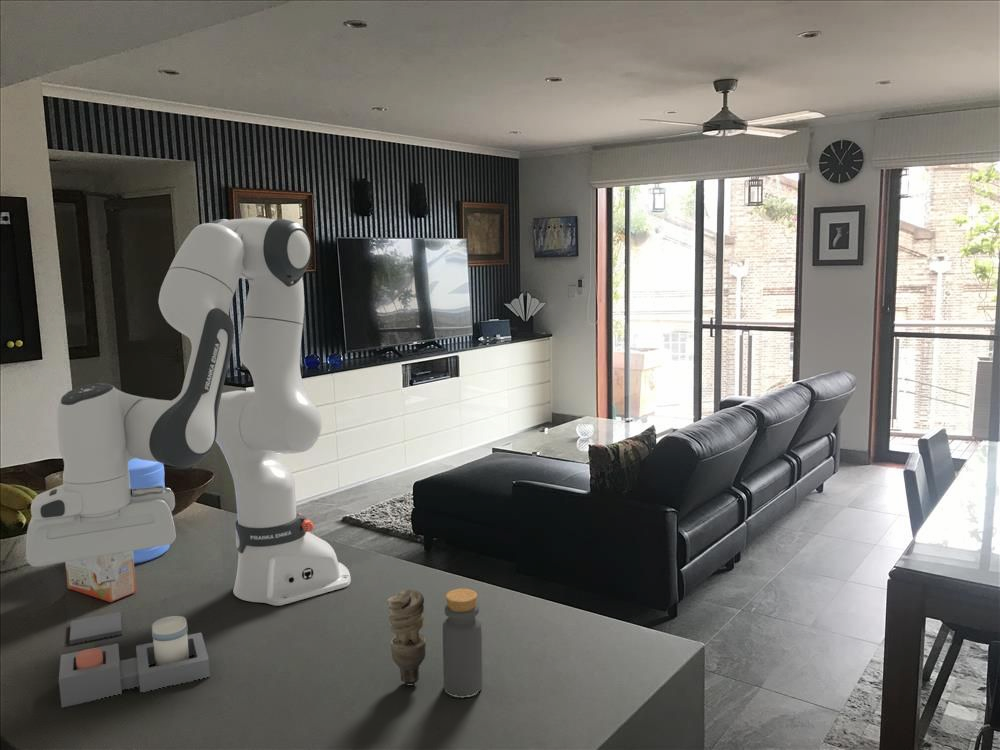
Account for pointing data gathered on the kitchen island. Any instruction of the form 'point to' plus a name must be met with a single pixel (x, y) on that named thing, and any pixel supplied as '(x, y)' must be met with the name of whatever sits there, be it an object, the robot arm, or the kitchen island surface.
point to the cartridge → (170, 640)
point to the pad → (95, 628)
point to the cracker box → (86, 583)
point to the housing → (128, 672)
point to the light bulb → (407, 633)
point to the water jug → (145, 477)
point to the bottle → (462, 643)
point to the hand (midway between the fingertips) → (108, 581)
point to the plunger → (89, 658)
